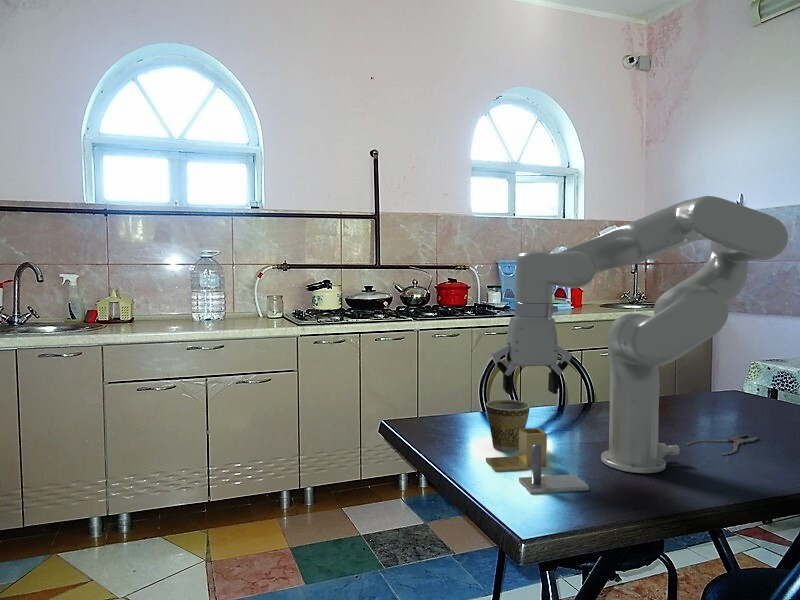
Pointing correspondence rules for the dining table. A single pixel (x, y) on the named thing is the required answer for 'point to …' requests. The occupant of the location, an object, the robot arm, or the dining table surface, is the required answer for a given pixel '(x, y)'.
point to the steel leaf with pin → (549, 478)
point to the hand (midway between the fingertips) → (530, 392)
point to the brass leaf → (522, 452)
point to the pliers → (735, 439)
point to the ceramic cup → (506, 422)
